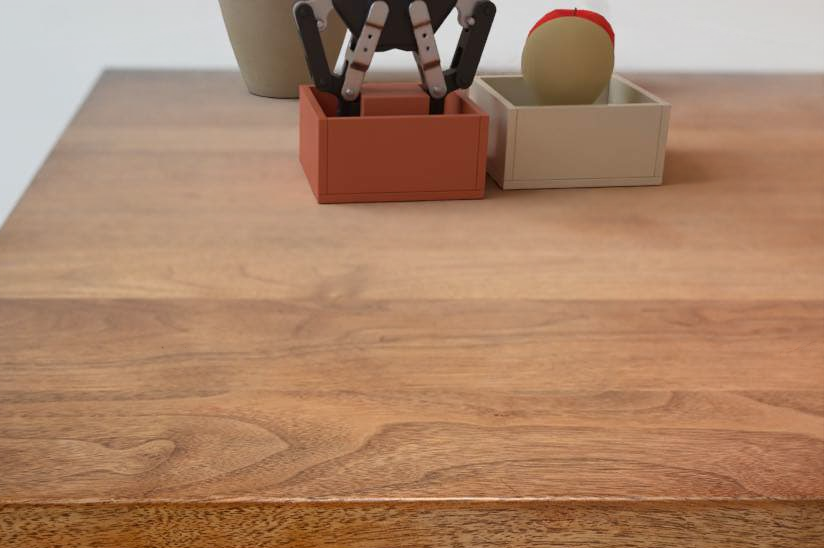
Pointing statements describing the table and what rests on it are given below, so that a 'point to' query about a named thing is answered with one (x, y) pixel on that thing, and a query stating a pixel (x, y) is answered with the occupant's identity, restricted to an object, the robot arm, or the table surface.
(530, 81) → the light bulb
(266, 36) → the plant pot
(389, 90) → the terracotta block
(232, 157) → the table surface
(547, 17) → the apple
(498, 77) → the cream bin
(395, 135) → the terracotta bin
